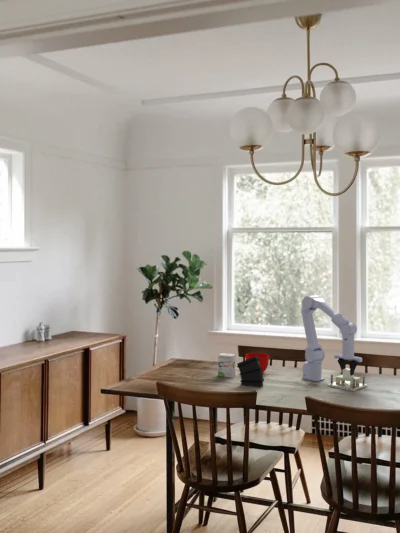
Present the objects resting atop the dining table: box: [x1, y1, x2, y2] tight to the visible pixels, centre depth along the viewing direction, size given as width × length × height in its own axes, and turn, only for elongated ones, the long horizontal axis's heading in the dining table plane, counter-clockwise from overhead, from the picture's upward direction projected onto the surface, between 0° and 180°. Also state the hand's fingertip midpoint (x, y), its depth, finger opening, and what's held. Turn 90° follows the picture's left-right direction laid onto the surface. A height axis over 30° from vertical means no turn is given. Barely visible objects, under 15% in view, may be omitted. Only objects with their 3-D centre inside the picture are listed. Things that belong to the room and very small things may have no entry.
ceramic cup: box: [245, 352, 270, 374], centre depth 316 cm, size 13×17×10 cm
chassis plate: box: [327, 371, 368, 392], centre depth 286 cm, size 14×14×6 cm
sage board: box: [335, 367, 361, 382], centre depth 286 cm, size 10×7×5 cm
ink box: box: [217, 352, 236, 379], centre depth 306 cm, size 8×5×12 cm, turn 69°
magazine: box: [236, 356, 265, 388], centre depth 285 cm, size 4×13×15 cm, turn 62°
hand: (347, 374), depth 286 cm, fingers closed on sage board, 4 cm apart
